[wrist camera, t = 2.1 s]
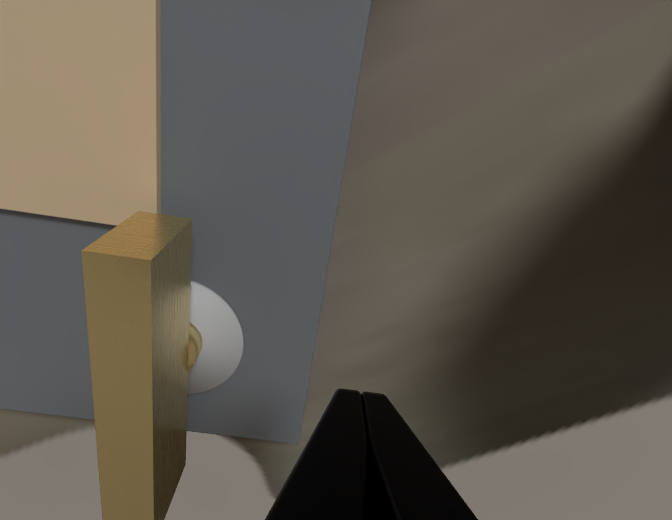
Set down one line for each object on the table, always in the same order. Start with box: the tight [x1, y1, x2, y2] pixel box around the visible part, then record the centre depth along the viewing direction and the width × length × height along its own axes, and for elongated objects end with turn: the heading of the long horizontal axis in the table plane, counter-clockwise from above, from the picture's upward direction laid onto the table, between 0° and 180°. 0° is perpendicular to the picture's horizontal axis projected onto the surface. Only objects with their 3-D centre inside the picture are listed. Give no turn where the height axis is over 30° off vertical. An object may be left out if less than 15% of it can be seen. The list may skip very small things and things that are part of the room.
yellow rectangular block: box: [81, 211, 202, 520], centre depth 12 cm, size 2×9×4 cm, turn 171°
